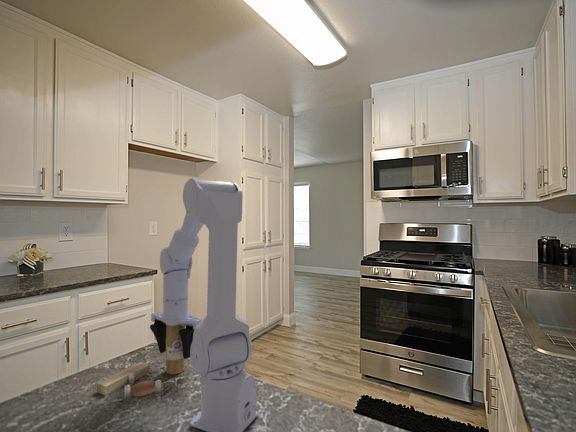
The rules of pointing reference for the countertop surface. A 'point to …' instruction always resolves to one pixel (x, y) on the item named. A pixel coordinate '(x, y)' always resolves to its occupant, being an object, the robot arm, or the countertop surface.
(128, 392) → the guide pins
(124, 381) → the wooden bar with disc
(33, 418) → the countertop surface
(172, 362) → the sprinkles bottle
